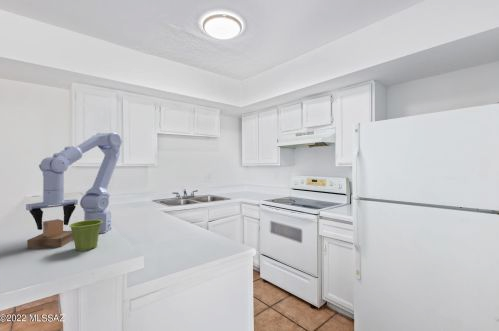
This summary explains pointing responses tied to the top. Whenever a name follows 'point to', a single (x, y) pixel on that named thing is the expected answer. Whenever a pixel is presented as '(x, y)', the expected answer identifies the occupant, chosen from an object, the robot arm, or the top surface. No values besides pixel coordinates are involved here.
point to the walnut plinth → (50, 240)
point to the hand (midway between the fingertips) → (53, 227)
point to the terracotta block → (52, 228)
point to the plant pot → (86, 234)
